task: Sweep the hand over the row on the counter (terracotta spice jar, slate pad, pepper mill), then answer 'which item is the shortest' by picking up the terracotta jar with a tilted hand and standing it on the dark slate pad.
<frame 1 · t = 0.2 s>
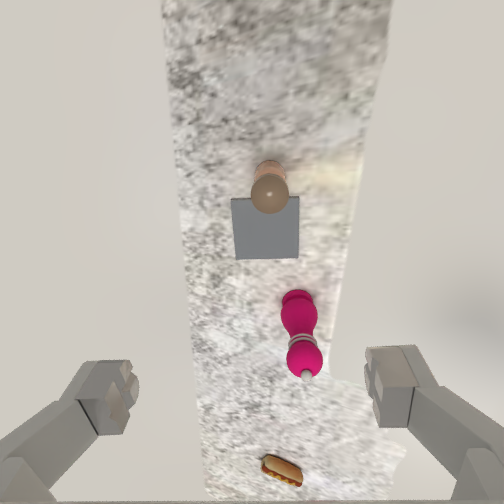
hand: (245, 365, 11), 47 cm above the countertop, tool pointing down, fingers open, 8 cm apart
pad: (265, 228, 60), on the countertop
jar: (269, 175, 55), on the countertop
food: (281, 461, 97), on the countertop
pepper mill: (297, 301, 68), on the countertop
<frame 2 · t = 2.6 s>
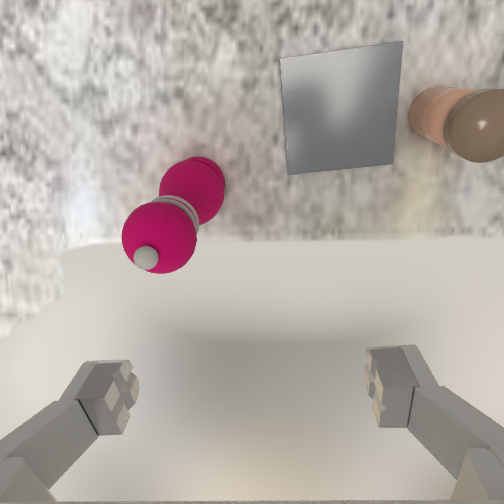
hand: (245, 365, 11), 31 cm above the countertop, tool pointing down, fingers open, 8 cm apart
pad: (338, 113, 36), on the countertop
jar: (432, 112, 35), on the countertop
pepper mill: (200, 181, 41), on the countertop
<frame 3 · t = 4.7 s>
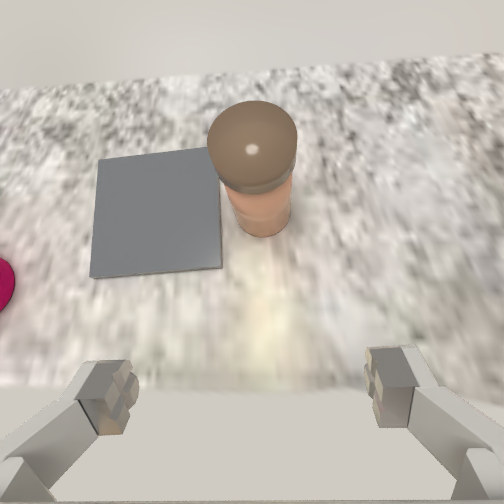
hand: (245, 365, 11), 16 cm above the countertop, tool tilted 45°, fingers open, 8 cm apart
pad: (158, 212, 31), on the countertop
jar: (262, 211, 30), on the countertop
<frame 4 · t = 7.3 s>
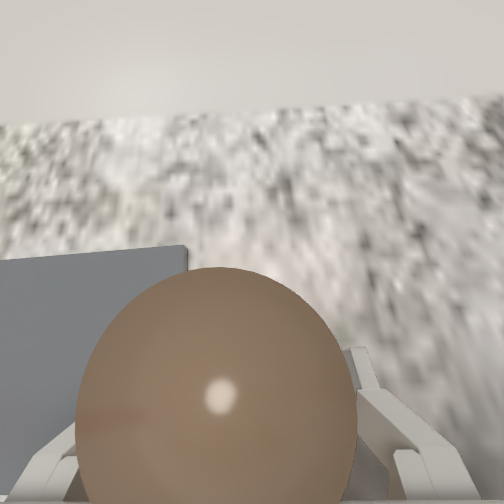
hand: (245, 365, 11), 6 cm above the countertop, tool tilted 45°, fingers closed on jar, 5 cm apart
pad: (81, 361, 18), on the countertop
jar: (262, 372, 16), on the countertop, touching gripper
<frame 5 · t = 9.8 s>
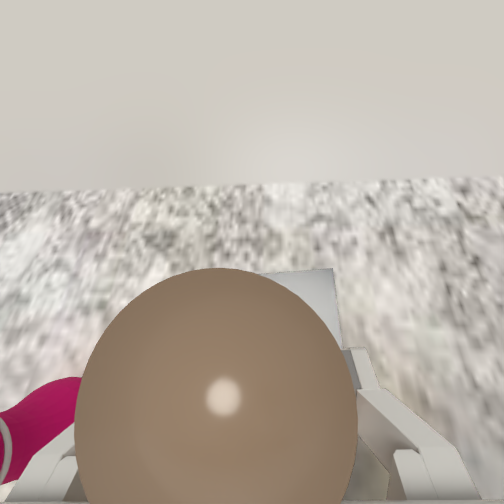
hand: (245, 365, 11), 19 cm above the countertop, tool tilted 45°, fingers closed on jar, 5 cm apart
pad: (274, 337, 30), on the countertop
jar: (262, 373, 16), point 14 cm above the countertop, touching gripper
pepper mill: (98, 413, 30), on the countertop
when the fingers open (7 cm above the countertop, at t = 12.4 s): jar stays where it is, resting on pad.
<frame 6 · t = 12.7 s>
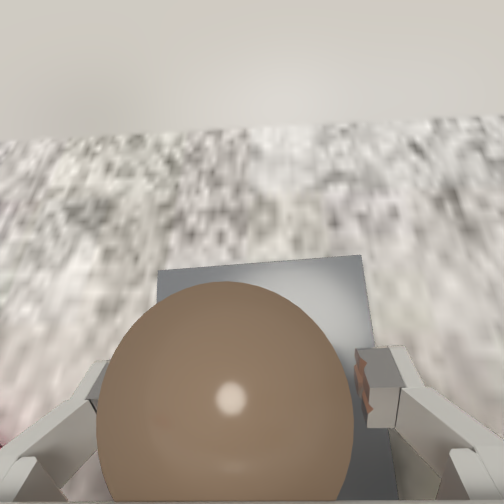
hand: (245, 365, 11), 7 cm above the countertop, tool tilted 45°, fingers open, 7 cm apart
pad: (263, 370, 18), on the countertop
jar: (263, 371, 17), point 1 cm above the countertop, touching pad
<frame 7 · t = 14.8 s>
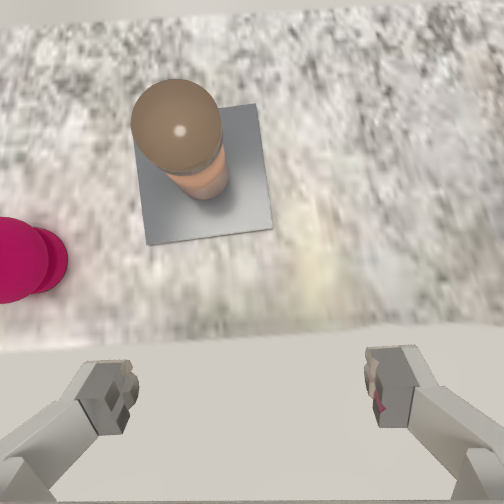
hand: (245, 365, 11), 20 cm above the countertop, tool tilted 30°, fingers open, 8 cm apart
pad: (202, 175, 31), on the countertop
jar: (202, 173, 30), point 1 cm above the countertop, touching pad
pepper mill: (37, 260, 31), on the countertop
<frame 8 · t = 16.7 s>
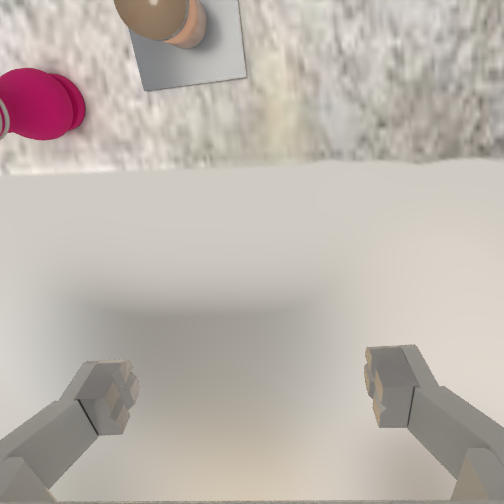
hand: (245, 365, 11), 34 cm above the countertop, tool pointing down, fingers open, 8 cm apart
pad: (184, 22, 35), on the countertop
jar: (183, 20, 34), point 1 cm above the countertop, touching pad
pepper mill: (61, 102, 39), on the countertop
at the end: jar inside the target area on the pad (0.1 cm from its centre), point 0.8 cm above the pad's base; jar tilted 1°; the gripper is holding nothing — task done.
